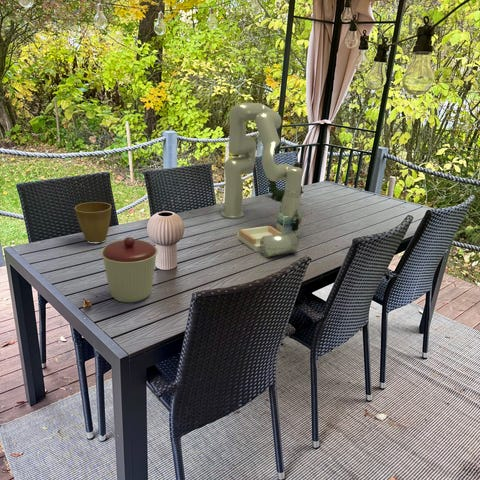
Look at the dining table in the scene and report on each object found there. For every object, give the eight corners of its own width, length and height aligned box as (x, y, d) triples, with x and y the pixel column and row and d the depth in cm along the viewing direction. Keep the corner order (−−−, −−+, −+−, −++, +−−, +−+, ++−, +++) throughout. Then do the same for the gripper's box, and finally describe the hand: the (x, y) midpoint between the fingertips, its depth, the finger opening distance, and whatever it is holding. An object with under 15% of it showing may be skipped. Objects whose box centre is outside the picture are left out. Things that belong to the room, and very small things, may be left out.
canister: (92, 301, 139) (87, 241, 131) (124, 278, 155) (122, 224, 147) (139, 314, 133) (137, 253, 125) (167, 289, 149) (167, 234, 141)
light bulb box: (282, 238, 203) (284, 217, 199) (275, 233, 209) (277, 212, 205) (300, 235, 208) (303, 215, 204) (292, 231, 213) (295, 211, 209)
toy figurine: (265, 201, 267) (298, 207, 252) (265, 171, 261) (299, 175, 246) (273, 198, 274) (307, 204, 258) (274, 169, 268) (308, 173, 252)
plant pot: (103, 232, 196) (101, 199, 190) (119, 242, 186) (117, 208, 180) (71, 239, 186) (68, 205, 180) (87, 250, 176) (84, 214, 170)
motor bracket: (235, 237, 200) (237, 219, 197) (267, 233, 208) (268, 216, 205) (267, 260, 177) (269, 241, 174) (300, 254, 186) (303, 235, 182)
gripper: (275, 189, 206) (273, 222, 212) (296, 198, 192) (293, 233, 198) (288, 188, 209) (285, 221, 215) (309, 197, 195) (305, 232, 201)
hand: (289, 227), depth 207 cm, fingers open, 9 cm apart
